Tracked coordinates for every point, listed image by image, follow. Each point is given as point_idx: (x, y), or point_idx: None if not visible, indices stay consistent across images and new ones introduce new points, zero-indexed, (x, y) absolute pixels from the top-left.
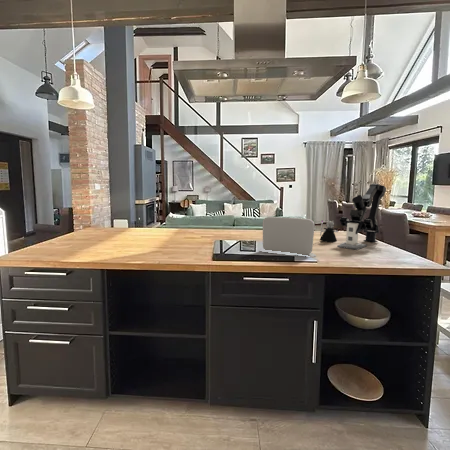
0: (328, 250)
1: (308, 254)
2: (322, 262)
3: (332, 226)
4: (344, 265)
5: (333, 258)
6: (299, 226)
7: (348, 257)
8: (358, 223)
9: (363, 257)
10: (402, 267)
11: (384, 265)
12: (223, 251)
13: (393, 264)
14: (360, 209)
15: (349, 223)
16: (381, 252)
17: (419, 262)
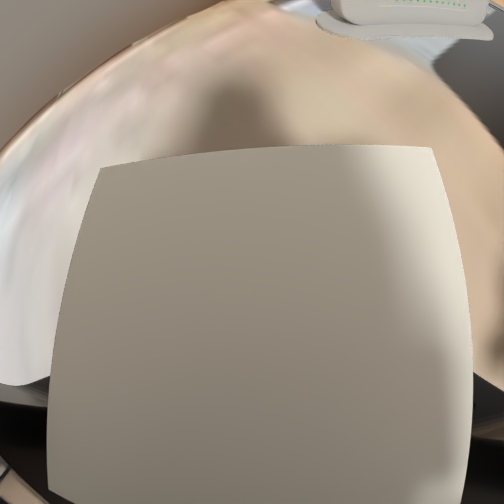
0: (370, 129)
1: (351, 23)
2: (255, 7)
3: None
4: (188, 23)
5: (249, 40)
6: None
7: (202, 79)
8: (47, 466)
9: (139, 124)
10: (39, 120)
11: (78, 96)
12: (491, 5)
13: (50, 127)
14: None
15: (355, 175)
16: None
17: None
